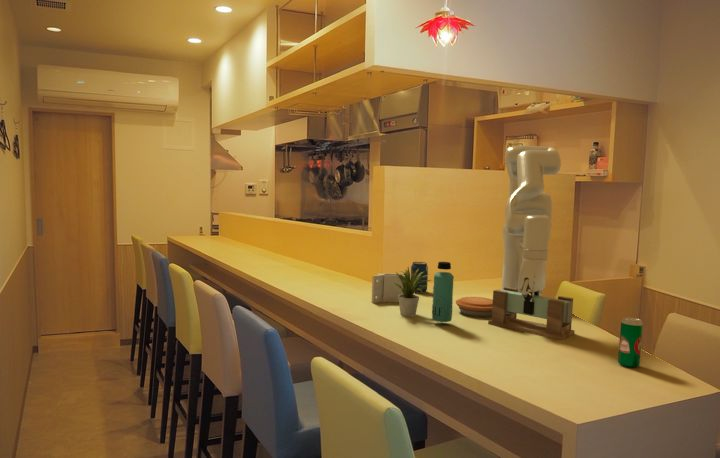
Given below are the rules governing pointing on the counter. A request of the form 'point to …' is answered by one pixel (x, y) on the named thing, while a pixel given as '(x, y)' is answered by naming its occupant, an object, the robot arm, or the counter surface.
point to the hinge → (386, 288)
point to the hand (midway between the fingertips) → (531, 312)
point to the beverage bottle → (443, 294)
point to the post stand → (508, 320)
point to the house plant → (409, 292)
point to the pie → (475, 306)
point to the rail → (536, 306)
